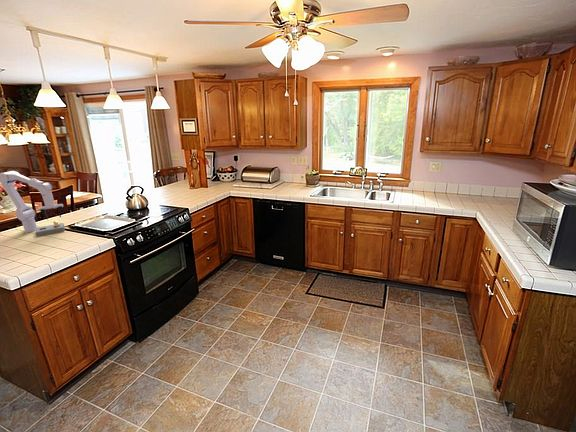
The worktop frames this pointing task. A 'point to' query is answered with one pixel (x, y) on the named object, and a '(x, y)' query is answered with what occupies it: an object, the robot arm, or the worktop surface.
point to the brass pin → (56, 224)
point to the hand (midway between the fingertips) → (53, 217)
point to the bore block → (49, 229)
